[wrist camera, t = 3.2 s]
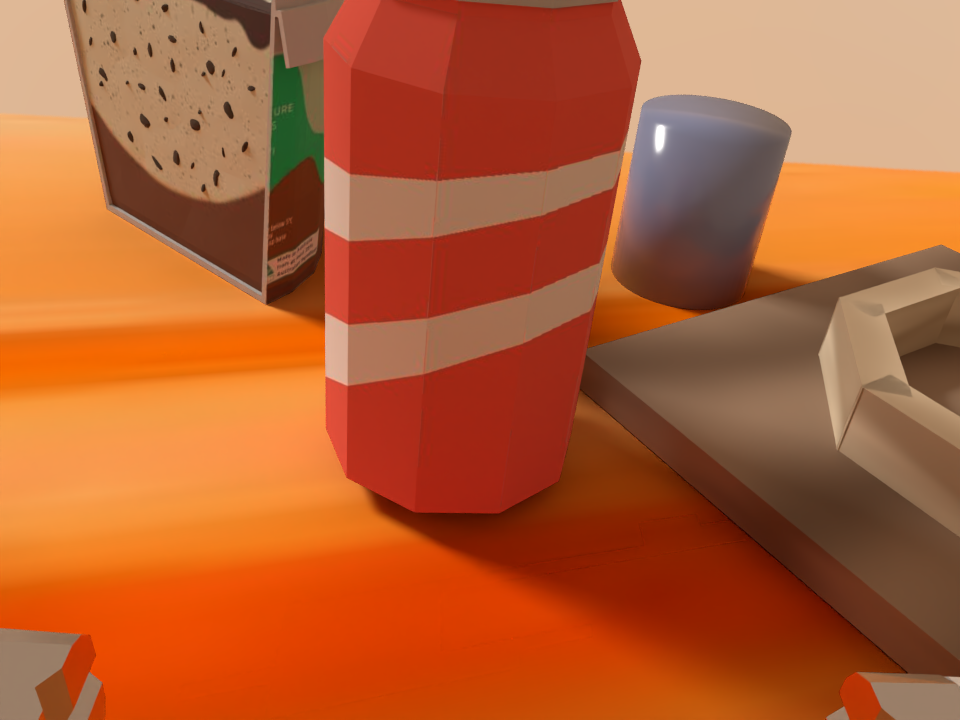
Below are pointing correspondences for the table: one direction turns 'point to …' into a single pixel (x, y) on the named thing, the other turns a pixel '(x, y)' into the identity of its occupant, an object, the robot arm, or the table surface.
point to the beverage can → (466, 237)
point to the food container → (212, 128)
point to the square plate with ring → (822, 437)
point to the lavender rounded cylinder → (697, 199)
